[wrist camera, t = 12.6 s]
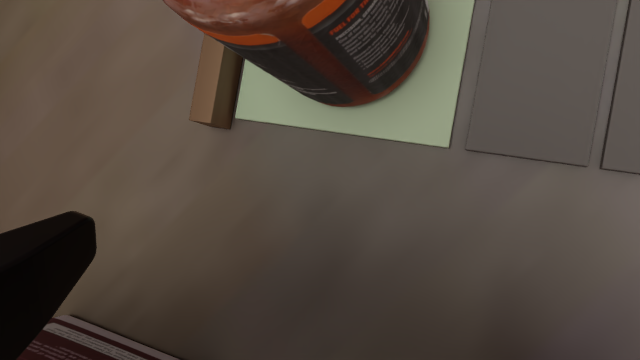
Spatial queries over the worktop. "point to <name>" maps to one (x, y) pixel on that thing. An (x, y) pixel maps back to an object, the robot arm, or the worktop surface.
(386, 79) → the supplement bottle
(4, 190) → the worktop surface
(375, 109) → the pad
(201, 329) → the worktop surface
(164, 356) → the supplement box
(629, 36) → the pads
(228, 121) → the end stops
